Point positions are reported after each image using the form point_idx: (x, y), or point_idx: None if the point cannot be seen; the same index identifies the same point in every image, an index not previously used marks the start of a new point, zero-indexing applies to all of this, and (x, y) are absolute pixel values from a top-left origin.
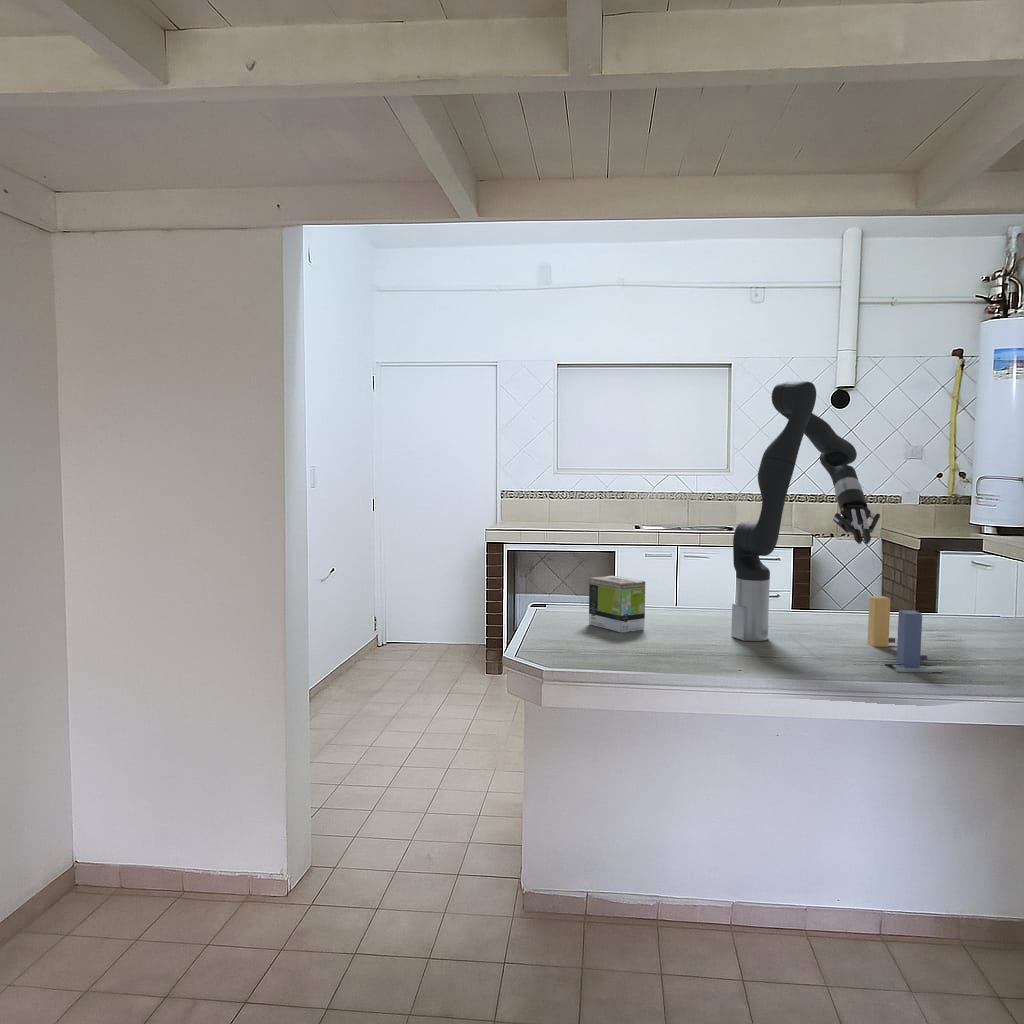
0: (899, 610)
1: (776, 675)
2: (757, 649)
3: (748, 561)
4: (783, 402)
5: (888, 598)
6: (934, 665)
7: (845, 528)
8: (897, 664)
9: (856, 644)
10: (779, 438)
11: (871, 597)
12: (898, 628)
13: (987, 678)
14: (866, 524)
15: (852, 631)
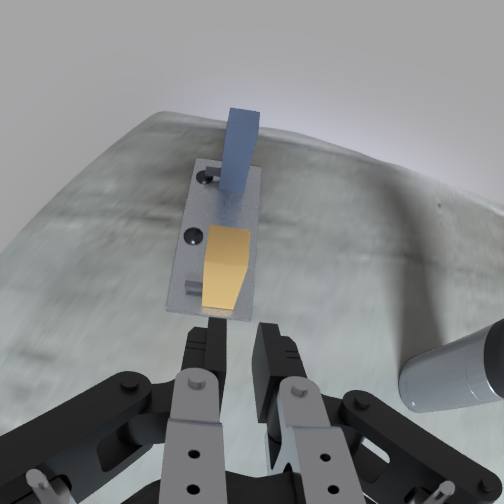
0: (257, 130)
1: (406, 181)
2: (422, 302)
3: None
4: None
5: (210, 231)
6: (197, 170)
7: (358, 455)
8: (250, 179)
9: (241, 340)
10: None
11: (248, 253)
12: (252, 153)
13: (154, 140)
14: (188, 406)
15: None
